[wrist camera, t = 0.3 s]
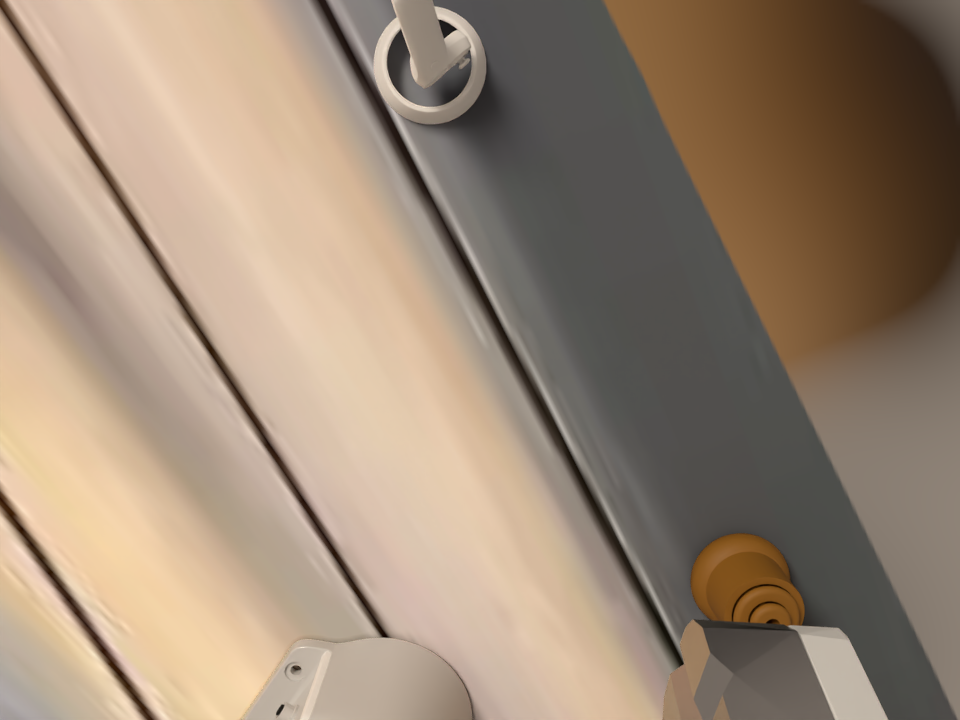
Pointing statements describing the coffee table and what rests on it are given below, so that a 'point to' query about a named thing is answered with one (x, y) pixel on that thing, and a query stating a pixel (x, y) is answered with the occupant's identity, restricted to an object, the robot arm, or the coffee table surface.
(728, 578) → the ornamental finial
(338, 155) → the coffee table surface
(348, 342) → the coffee table surface
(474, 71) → the vr controller
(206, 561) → the coffee table surface
